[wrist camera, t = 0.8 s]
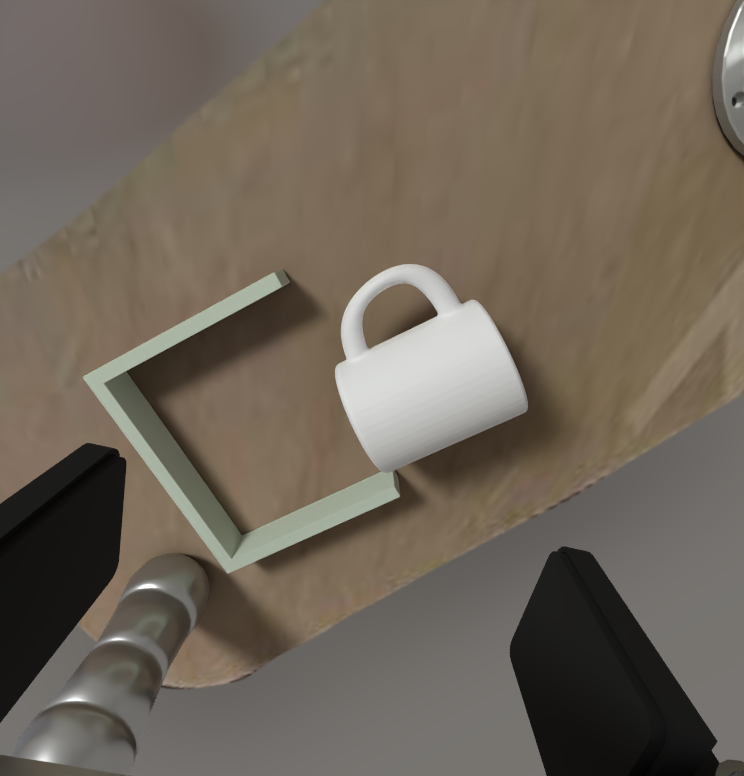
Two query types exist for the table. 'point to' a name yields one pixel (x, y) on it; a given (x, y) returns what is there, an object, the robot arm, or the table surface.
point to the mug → (425, 374)
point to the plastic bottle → (121, 672)
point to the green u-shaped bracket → (183, 477)
